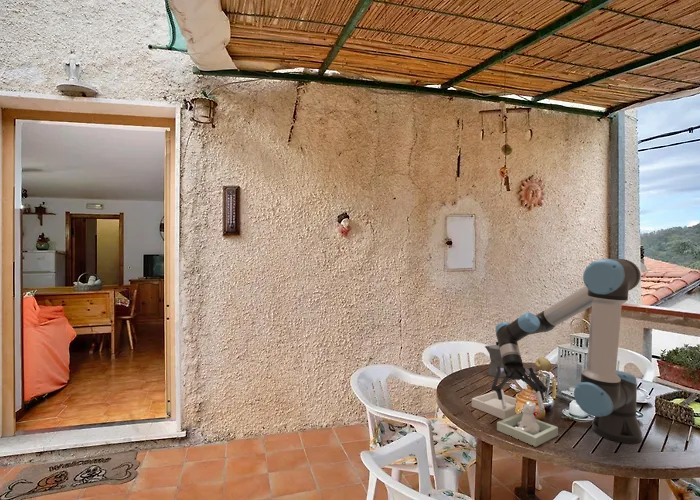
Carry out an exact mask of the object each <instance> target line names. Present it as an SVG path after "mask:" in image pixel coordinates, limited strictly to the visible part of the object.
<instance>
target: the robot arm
mask: <svg viewBox="0 0 700 500" xmlns="http://www.w3.org/2000/svg"><path fill="white" fill-rule="evenodd" d="M582 274H583V276H582V280H583V283H584V285H585V286H582V288H580V289H578V290H576V291H574V292H572V293H571V294H569V295H568V296H566V297H565V298H563V299H561V300H559V301H558V302H556V303H554V304H552V305H551V306H549V307H548V308H546V309H544V310H543V311H541V312H539V313H538V314H534V313H532V312H530V311H529V312H525V313H524V314H522V315H520V316H519V317H518V318H516V319H515V320H513V321H512V322H508V321H503V322H499V323H498V324H496V325H495V336H496V339H497V340H496V341H497V342H498V344H499V348H500V353H501V357H502V362H503V367H504V368H500V367H499V366H498V367H497V369H496V376H495V377H494V379H493V382H492V386H491V387H490V388H491V391H495V392H496V393H497V395H498V399H499V400H501V402H502V407H503V409H505V408H506V407H507V406H506V401H505V397H504V395H505V393H504V389H502V388H504V386H505V384H506V383H507V382H508V381H509V379H510V380H511V381H512V380H513V381H514V380H515V381H520V380H521V381H523V382H524V383H525V384H526V385H528V386H529V388H531V389H532V390H533V391H535V392H536V393H535V396H536V397H535V398H536V400H537V404H538V407H539V411H540V412H543V411H544V409H545V406H544V405H545V404H544V401H545V397H544V394H545V393H546V391H547V387H546V386H545V384H544V383H543V382H542V381H541V380H540V378H539V377H538V376H537V374H536V373H535V372H534V369H533V368H532V367H529V368H525V367H524V362H523V360H522V354H521V352H520V348H519V344H518V341H521V340H522V339H524V338H526V337H527V336H531V335H535V334H540V333H548V332H550V331H552V330H553V329H554V328H556V326H558V325H560V324H562V323H563V322H565V321H568V320H569V319H571V318H572V317H575V316H576V315H579V314H580V313H582V312H584V311H586V310H588V309H589V308H591V311H590V314H591V315H590V326H589V337H588V349H587V361H586V368H584V369H582V370H581V372H580V374H581V375H580V382H579V383H578V384H577V385H576V386H575V387H574V389H573V398H574V400H575V402H576V405H578V406H579V408H580V409H581V411H583V412H584V413H586V414H587V415H590V416H592V417H594V418H593V420H592V427H591V428H592V431H593V432H594V433H596V434H597V435H598V436H600V437H602V438H604V439H607V440H609V441H613V442H617V443H622V444H638V443H641V442H642V441H643V433H642V428H641V427H640V424H639V420H638V419H637V392H638V391H637V388H638V387H637V386H638V384H637V377H636V376H635V375H634V374H632V373H630V372H625V371H622V370H618V369H617V365H618V363H617V362H618V355H619V354H618V353H619V343H620V342H619V341H620V339H619V338H620V329H621V328H620V327H621V320H622V319H621V317H622V309H623V308H622V306H623V304H625V303H626V302H628V300H629V291H631V290H633V289H635V288H636V287H637V286H638V285H639V283H640V281H641V271H640V268H639V267H638V266H637V264H636V263H634V262H632V261H630V260H628V259H624V258H602V259H601V258H600V259H596V260H594V261H593V262H590V264H588V265H587V266H586V268H585V269H584V271H583V273H582ZM502 372H504V373H505V374H506V376H505V377H503V379H502V381H501V382H500V384H498V381H499V376H500V374H501V373H502ZM497 384H498V386H497Z"/></svg>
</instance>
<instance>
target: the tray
mask: <svg viewBox="0 0 700 500" xmlns="http://www.w3.org/2000/svg"><path fill="white" fill-rule="evenodd" d="M504 397H505V401H506V406H507V407H506V408H505V409H503V407H502V402H501V400H499V399H498V395H497V393H496V391H495V390H492V391H490V392H488V393H485V394H481V395H478V396H475V397H472V398H471V407H472V408H474V409H477V410H479V411H481V412H483V413H487V414H489V415H492V416H494V417H496V418H499V419H501V420H504V419H506V418H509V417H511V416H514V415H516V414H515V408H516V406H515V404H516V399H517V398H515V397H512V396H511V395H506V394H504Z"/></svg>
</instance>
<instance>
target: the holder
mask: <svg viewBox="0 0 700 500" xmlns="http://www.w3.org/2000/svg"><path fill="white" fill-rule="evenodd" d="M522 417H523V413H519V414H516V415H514V416H511V417H509V418H506V419H501V420H499V421H497V422H496V431H498V432H501V434H505V435H507V436H509V435H510V436H509V437H511V436H512V438H513V439H516V440H518V439H519V441H521V442H523V443H525V444H527V443H528V444H527V445H530V446H532V445H533V446H532V447H535V448H536V447H538V446H540V445H542V444H545V443H546V442H549V441H550V440H552V439H554V438H556V437H557V436H559V427H558V426H557V425H553V424H550V423H548V422H545V421H542V420H539V419H537V418H535V421H536V423H537V424H538V426H539V429H540V430H539V433H538V434H536V435H532V434H529V433H527V432H524V431H522V430H520V429H517V428H515V427H516V426H518V425H517V423H518V422H520V421H521V420H522Z"/></svg>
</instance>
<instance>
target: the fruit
mask: <svg viewBox="0 0 700 500" xmlns="http://www.w3.org/2000/svg"><path fill="white" fill-rule="evenodd" d="M534 367H535V368H536V369H537V371H539V370H546V371H547V372H549V371H550V370H551V369H552V364H551V361H550V359H548V358H546V357H538V358H537V359H536V360H535V362H534Z"/></svg>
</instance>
